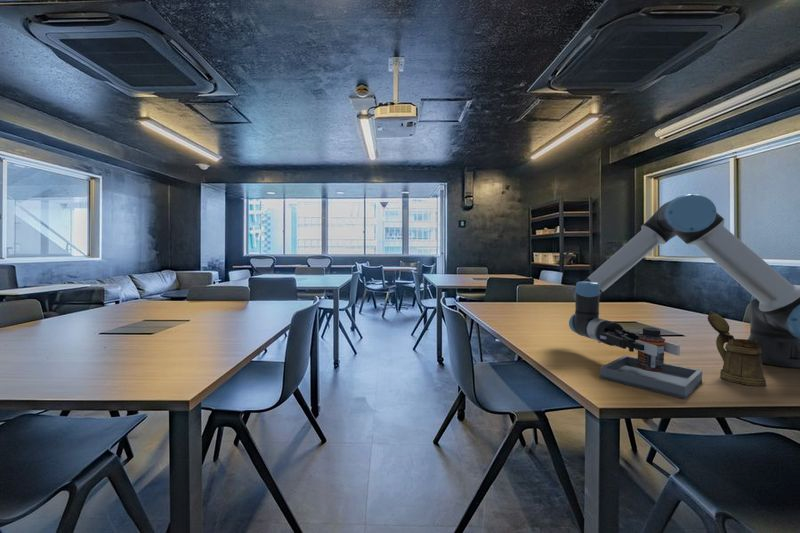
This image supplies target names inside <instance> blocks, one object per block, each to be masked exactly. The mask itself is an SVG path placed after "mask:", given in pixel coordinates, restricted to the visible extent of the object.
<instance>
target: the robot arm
mask: <svg viewBox="0 0 800 533" xmlns="http://www.w3.org/2000/svg"><path fill="white" fill-rule="evenodd" d="M724 224H725V218H724V217H722V215H720V214H719V213H718V212H717V207H716V205H715V203H714V201H713V200H711V199H710V198H708V197H706V196H705V195H701V194H695V193H694V194H690V193H689V194H684V195H680V196H677V197H675V198H673V199H672V200H669V201H668V202H665V203H664V204H663V205H661V206H660V207H659V208H658V209H657V210H656V211H655V212H654V213H653V215H651V217H650V218H649V219H647V221H645V222H644V223H643V224H642V225H641V226H640V227H641V230H640V231H639V232H637V234H635V235H634V236H633V237H632V238H630V239H629V241H627V242H626V243H625V244H624V245H623V246H621V248H619V250H617V251H615V252H614V254H612V256H610V257H609V258H608V259H607V260H606V261H605V262H603V263H602V264H601V265H600V266H599V267H598V268H596V270H594V271H593V272H592V273H591V274H590V275H589V276H588V277H587V278H585V279H584V280H583V281H577V282H576V284H575V287H574V288H573V290H572V296H573V299H574V300H575V308H574V309H575V310H574V311H575V312H574V313H573V314H572V315H571V316H570V318H569V320H568V327H569V328H570V330H571V331H572V332H573V333H575V334H577V335H579V336H581V337H585V338H588V339H591V340H594V341H597V342H598V343H599V344H601V343H602V344H604V345H607V346H611V347H618V348H619V349H624V350H625V349H628V351H629V352H631V353H634V352H635V351H636V352H638V351H640V352H643V353H646V354H649V355H652V356H657V346H656V345H652V344H649V343H646V342H642V341H639V340H638V338H639V336H640V335H642V333H643V332H642V331H636V332H634V331H629V330H628V329H624V328H623V326H622V325H621V324H619V323H618V322H615V321H611V320H607V319H604V318H600V297H601V296H600V295H601V294H602V293H604V292H605V291H606V290H607V289H609V287H611V286H612V285H613V284H615V282H617V281H618V280H619V279H620V278H621V277H623V276H624V275H625V274H626V273H627V272H628V271H630V270H631V269H632V268H633V267H634V266H635V265H637V264H638V263H639V262H640V261H642V259H644V258H645V257H646V256H648V255H649V254H650V253H651V252H652V251H653V250H654V249H656V248H657V247H658V246H659V245H665V244H666V243H668V242H669V241H670V240H671V239H673V238H675V237H676V236H677V237H678V238H680V239H681V240H682V241H683V242H684V243H685V244H686V245H692V246H693V245H695V246H697V247H698V248H699V249H700V250H701V251H702V252H703V253H704V254H706V256H708V257H709V258H710V259H711V260H712V261H713V262H714V263H716V264H717V265H718V267H720V268H721V269H722V270H724V272H726V273H727V274H728V275H729V276H730V277H731V278H732V279H733V280H734V281H736V282H737V283H738V284H739V285H740V286H741V287H743V289H745V290H746V291H747V292H748V293H750V295H751V298H750V302H749V303H750V323H749V324H750V326H749V327H750V330H749V337H748V339H747V340H754V341H758V342H759V347H760V348H761V351H762V353H761V361H762V365H770V366H777V367H783V368H792V369H793V368H794V369H800V285H798V284H792V283H791V282H790V281H789V280H787V278H785V277H784V276H782V275H781V274H780V273H779V272H778V271H776V270H775V269H774V268H773V267H772V266H771V265H769V263H767V262H766V261H765V260H764V259H763V258H762V257H760V256H759V255H758V254H757V253H756V252H754V251H753V249H751V248H750V247H749V246H748V245H746V244H745V243H744V242H743V241H742V240H741V239H739V238H738V237H737V236H736V235H735V234H734V233H732V232H731V231H730V230H729V229H728V228H726V227H725V225H724ZM662 338H663V337H662ZM663 339H664V353H668V354H670V355H673V356H678V357H679V356H680V355H681V345H680V344H676V343H673V342H669V341H666V339H665V338H663Z"/></svg>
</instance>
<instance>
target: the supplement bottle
mask: <svg viewBox="0 0 800 533" xmlns="http://www.w3.org/2000/svg"><path fill="white" fill-rule="evenodd" d="M641 333H642V335H640V336H639V338H638V340H639V341H642V342H646V343H649V344H652V345H656V346H657V356H652V355H649V354H646V353H643V352H640V351H637V358H638V362H637V363H638V367H639V368H641V369H643V370H646V371H653V372H660V371H663V366H664V363H665V352H664V339H665V338H664V339H663V337H662V335H661V329H659V328H656V327H650V326H648V327H647V326H646V327H642V332H641Z"/></svg>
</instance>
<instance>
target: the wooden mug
mask: <svg viewBox="0 0 800 533" xmlns="http://www.w3.org/2000/svg"><path fill="white" fill-rule="evenodd" d="M707 321H708V323H709V325H710V326H711V328H712V329H714V331H715V332H717V333H718V336H717V337H716V341H715V345H716V349H717V350H718V353H719V355H720V357H721V359H722V361H723V365H722V368H721V369H720V371H719V372H720V375H719V376H720V377H721V379H724V380H725V381H729V382H730V383H731V382H732V383H735V384H741V385H744V384H745V386H754V387H762V386H766V385H767V381H766V377H765V375H764V368H763V363H762V361H761V353H762V351H761V348H760V347H759V342H758V341H754V340H748V339H747V338H746V339H745V338H744V339H743V338H735V337H734V335H732V334H730V325H729V323H728V322H727V320H726V319H725V317H723V316H721V315H720V314H719V313H717V312H714V311H712V310H710V311H709V313H708V316H707ZM724 346H725V347H724Z"/></svg>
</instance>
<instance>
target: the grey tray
mask: <svg viewBox="0 0 800 533" xmlns="http://www.w3.org/2000/svg"><path fill="white" fill-rule="evenodd" d="M637 362H638V357H634V356H630V355H622V356H621V357H619V358H617V359H614V360H612V361H610V362H608V363H607V364H604V365H602V366H600V367H599V379H601V380H606V381H610V382H615V383H619V384H623V385H626V386H631V387H634V388H638V389H642V390H646V391H650V392H655V393H659V394H662V395H667V396H671V397H674V398H679V399H683V400H686V399H687V398H688V397H689V396H690V394H692V393H693V391H694V390H695V389H697V387H699V385H700V384H701V383H702V382H703V369H702V370H701V369H697V368H691V367H685V366H681V365H675V364H670V363H666V362H664V366H663V371H660V372H653V371H646V370H643V369H641V368H639V367H638V363H637Z"/></svg>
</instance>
